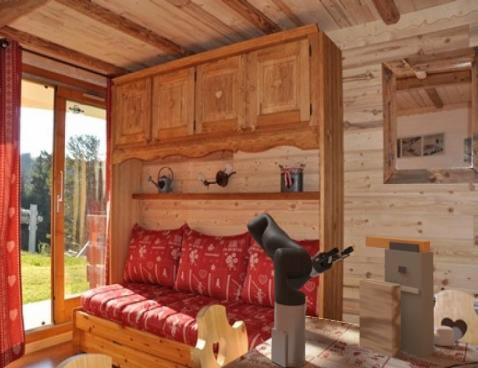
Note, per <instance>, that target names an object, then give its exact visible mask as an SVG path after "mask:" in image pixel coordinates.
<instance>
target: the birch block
mask: <svg viewBox="0 0 478 368" xmlns="http://www.w3.org/2000/svg"><path fill="white" fill-rule="evenodd" d="M358 283H359V284H358V285H359V286H358V287H359V300H358V303H359V304H358V305H359V313H358V314H359V316H358V317H359V320H358V321H359V325H358V326H359V332H358V333H359V335H358V337H359V338H358V339H359V340H358V341H359V344H358V345H359V346H360V347H362V348H365V349H369V350H371V351H374V352H376V353H379V354H381V355H385V356H387V357H390V358H393V357H396V356H400V355H402V351H401V285H398V284H393V283H388V282H385V281H382V280H378V279H372V278H365V279H359V282H358Z"/></svg>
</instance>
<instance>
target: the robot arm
mask: <svg viewBox="0 0 478 368" xmlns="http://www.w3.org/2000/svg"><path fill="white" fill-rule="evenodd" d="M246 228H247V230H248V233H249V234H250V235H251V237H252V239H253V240H254V241H255V242H256V243H257V245H258V246H259V247H260V248H261V249H262V251H263V252H264V253H265V254H266V255H267V256H268V258H270V260H271V262H272V263H273V276H274V277H273V279H274V284H273V285H274V287H273V288H274V290H273V291H274V312H273V313H274V315H273V316H274V317H273V319H274V320H273V321H274V324H273V327H272V328H271V342H270V343H271V348H270V351H271V352H270V354H271V355H270V359H271V360H270V361H271V362H273V363H275V364H277V365H279V366H280V367H283V368H298V367H301V366H304V365H305V364H306V320H307V319H306V314H307V313H306V312H307V311H306V309H307V308H306V307H307V302H306V301H307V300H306V299H307V296H306V294H305V292H303V291H302V290H300V289H302V287H304V286H305V285H306V284H307V283H308V282H309V281H310V280H311V279H315V277H317V276H321V275H322V274H324V273H325V272H328V271H329V270H331V269H332V267H333V263H336V262H341V261H342V260H345V259H346V258H348V257H350V256H351V255H350V254H351V253H353V252H354V251H355V249H354V247H353V245H349V246H347V247H346V248H344V249H342V250H339V248H338V247H334V248H332V249H330V250H327V251H321V252H319V253H317V254H315V255H314V256H311V254H310V253H309V252H308V250H307V249H306V248H305V247H303V246H302V245H300V244H298V243H296V241H294V240H293V238H291V237H290V236H289V235H288V234H287V232H286V231H284V230H283V229H282V228H281V227H280V226H279V224H278V223H277V222H276V221H275V219H274V218H273V216H272V215H271V214H269V213H267V212H263V213H260V214H259V215H258V216H256V217H254V218H253V219H251V220H250V221H249V222H248V223H247V224H246Z"/></svg>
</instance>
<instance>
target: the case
mask: <svg viewBox="0 0 478 368" xmlns="http://www.w3.org/2000/svg"><path fill="white" fill-rule="evenodd" d="M384 282H388V283H393V284H398V285H401V352H404V353H407V354H409V355H412V356H415V357H418V358H421V359H423V358H426V357H429V356H431V355H434V354H435V343H434V326H435V310H434V309H435V307H434V306H435V305H434V303H435V302H434V301H435V300H434V299H435V297H434V295H435V294H434V293H435V292H434V291H435V289H434V286H435V285H434V252H433V251H430V252H428V253H421V252H419V244H408V243H398V242H389V249H385V248H384Z"/></svg>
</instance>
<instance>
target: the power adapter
mask: <svg viewBox="0 0 478 368" xmlns="http://www.w3.org/2000/svg"><path fill="white" fill-rule="evenodd" d="M435 344H436V346H439V347H454V345H455V330H454V328H452V327H450V326H447V325H434V345H435Z"/></svg>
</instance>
